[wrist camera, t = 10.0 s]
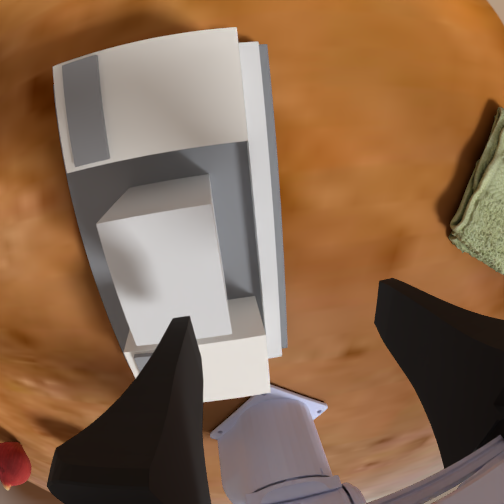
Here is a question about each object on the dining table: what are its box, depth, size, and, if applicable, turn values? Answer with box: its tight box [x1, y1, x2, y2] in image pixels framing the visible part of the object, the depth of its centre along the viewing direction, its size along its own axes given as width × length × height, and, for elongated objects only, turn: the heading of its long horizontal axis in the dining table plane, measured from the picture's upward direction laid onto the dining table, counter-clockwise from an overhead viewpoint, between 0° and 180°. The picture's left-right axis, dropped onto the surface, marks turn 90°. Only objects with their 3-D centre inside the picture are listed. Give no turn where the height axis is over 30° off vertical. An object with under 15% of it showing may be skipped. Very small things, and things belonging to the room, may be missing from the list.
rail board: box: [53, 27, 287, 402], centre depth 17 cm, size 20×12×6 cm, turn 5°
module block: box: [96, 174, 232, 346], centre depth 15 cm, size 6×4×6 cm
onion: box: [0, 442, 31, 490], centre depth 24 cm, size 6×6×8 cm
